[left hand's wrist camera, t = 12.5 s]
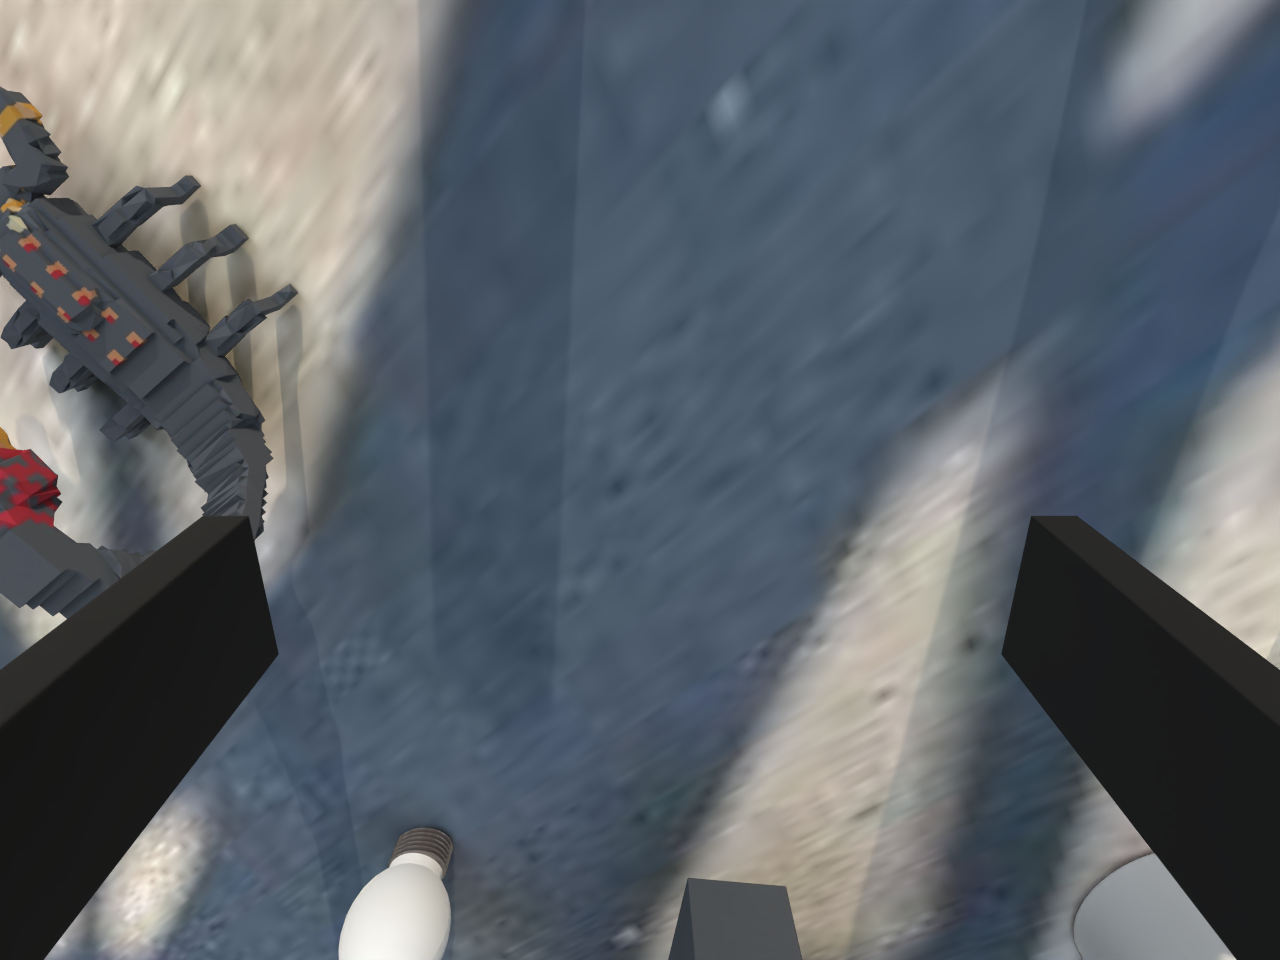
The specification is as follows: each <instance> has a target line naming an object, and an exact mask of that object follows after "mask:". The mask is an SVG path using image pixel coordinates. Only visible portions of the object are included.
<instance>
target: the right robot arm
mask: <svg viewBox="0 0 1280 960" xmlns="http://www.w3.org/2000/svg"><path fill="white" fill-rule="evenodd" d="M1073 935H1074V941H1075V944H1076V947H1077V949H1078V951H1079V953H1080V955H1081V957H1082V959H1083V960H1236V959H1235V957H1234V956H1233V955H1232V953H1231V952H1230V951H1229V949H1228V948H1227V947H1226V946H1225V944H1224V943H1223V942H1222V940H1221V939H1220V938H1219V936H1218V935H1217V934H1216V933H1215V931H1214V930H1213V929H1212V927H1211V926H1210V925H1209V923H1208V922H1207V921H1206V920H1205V918H1204V917H1203V916H1202V914H1201V913H1200V912H1199V910H1198V909H1197V908H1196V907H1195V905H1194V904H1193V903H1192V901H1191V900H1190V899H1189V897H1188V896H1187V895H1186V894H1185V892H1184V891H1183V890H1182V888H1181V887H1180V886H1179V884H1178V883H1177V882H1176V881H1175V879H1174V878H1173V877H1172V875H1171V874H1170V873H1169V871H1168V870H1167V869H1166V868H1165V866H1164V865H1163V864H1162V862H1161V861H1160V860H1159V858H1158V857H1157V856H1156V855H1155V853H1152V854H1149V855H1146V856H1144V857H1141V858H1139V859H1136V860H1134V861H1132V862H1130V863H1128V864H1126V865H1124V866H1122V867H1120V868H1119V869H1117V870H1116V871H1114V872H1113V873H1111V874H1110V875H1108V876H1107V877H1106V878H1104V879H1103V880H1102V881H1101V882H1100V883H1099V884H1097V885H1096V886H1095V887H1094V888H1093V889H1092V890H1091V892H1090V893H1089V894H1088V895H1087V897H1086V898H1085V899H1084V901H1083V902H1082V904H1081V906H1080V908H1079V910H1078V912H1077V914H1076V917H1075V921H1074V927H1073Z"/></svg>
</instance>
